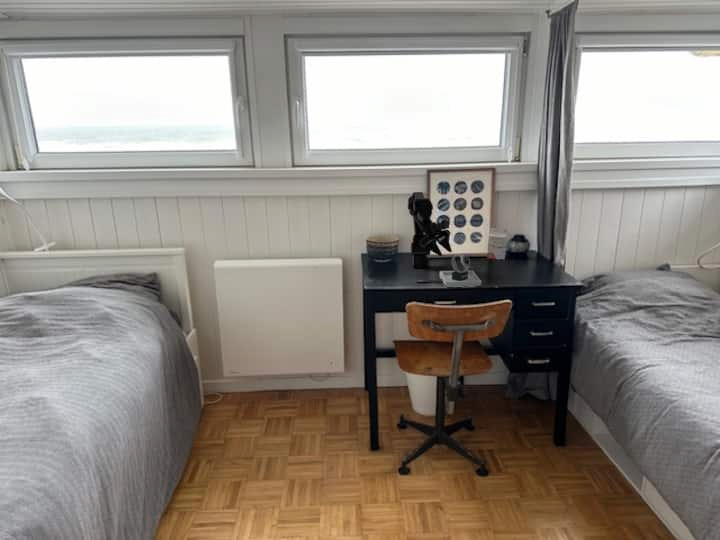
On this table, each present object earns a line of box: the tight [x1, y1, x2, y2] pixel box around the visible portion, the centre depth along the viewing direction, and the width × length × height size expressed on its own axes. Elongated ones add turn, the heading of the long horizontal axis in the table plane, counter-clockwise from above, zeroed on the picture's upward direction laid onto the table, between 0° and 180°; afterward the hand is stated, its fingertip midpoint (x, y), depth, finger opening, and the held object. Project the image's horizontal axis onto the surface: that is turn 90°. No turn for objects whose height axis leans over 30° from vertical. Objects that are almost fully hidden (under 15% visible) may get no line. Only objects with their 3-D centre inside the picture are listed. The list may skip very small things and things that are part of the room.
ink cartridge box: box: [486, 227, 508, 261], centre depth 241 cm, size 9×5×15 cm, turn 71°
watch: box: [451, 253, 471, 281], centre depth 208 cm, size 6×8×11 cm
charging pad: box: [415, 270, 482, 286], centre depth 209 cm, size 26×15×3 cm, turn 91°
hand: (446, 253), depth 212 cm, fingers open, 9 cm apart
